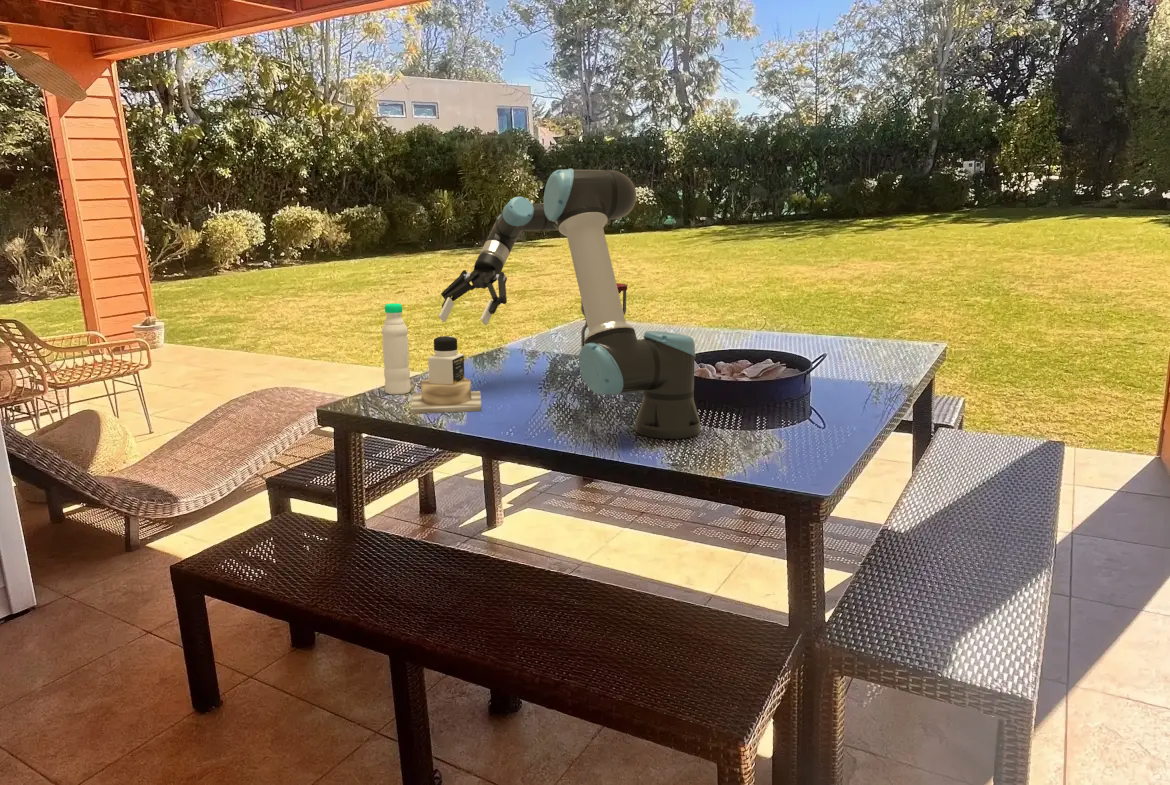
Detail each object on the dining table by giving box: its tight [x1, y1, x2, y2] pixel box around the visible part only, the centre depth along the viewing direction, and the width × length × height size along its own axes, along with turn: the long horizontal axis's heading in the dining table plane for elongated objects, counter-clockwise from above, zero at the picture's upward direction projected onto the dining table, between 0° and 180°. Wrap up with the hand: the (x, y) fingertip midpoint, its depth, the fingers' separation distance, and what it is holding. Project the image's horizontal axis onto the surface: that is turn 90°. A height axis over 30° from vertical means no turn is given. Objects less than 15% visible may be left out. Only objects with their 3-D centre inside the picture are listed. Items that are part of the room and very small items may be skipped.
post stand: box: [409, 377, 482, 415], centre depth 219 cm, size 18×18×6 cm
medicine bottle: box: [427, 335, 466, 385], centre depth 217 cm, size 7×7×12 cm
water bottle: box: [381, 302, 412, 396], centre depth 231 cm, size 7×7×25 cm
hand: (462, 320), depth 223 cm, fingers open, 13 cm apart
